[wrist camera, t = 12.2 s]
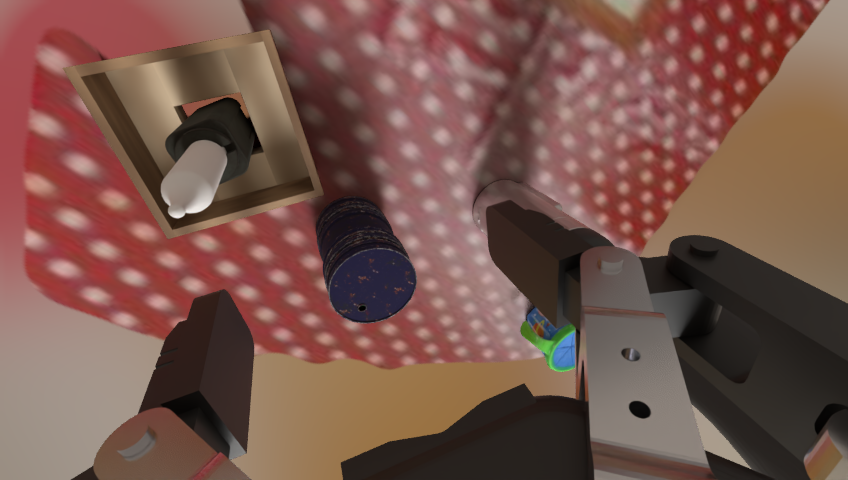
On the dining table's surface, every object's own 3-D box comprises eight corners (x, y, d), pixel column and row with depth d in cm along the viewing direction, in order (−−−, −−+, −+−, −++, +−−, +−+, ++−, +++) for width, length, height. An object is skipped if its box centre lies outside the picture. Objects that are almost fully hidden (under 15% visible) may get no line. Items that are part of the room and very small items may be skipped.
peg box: (270, 30, 39) (269, 29, 33) (317, 172, 48) (324, 194, 41) (102, 62, 36) (62, 68, 29) (184, 208, 44) (167, 239, 38)
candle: (188, 112, 40) (94, 194, 19) (234, 93, 41) (189, 154, 20) (217, 155, 43) (162, 267, 22) (259, 137, 44) (244, 230, 23)
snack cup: (581, 299, 77) (618, 332, 69) (555, 339, 80) (587, 374, 72) (525, 286, 70) (559, 321, 61) (499, 330, 73) (528, 369, 65)
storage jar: (334, 183, 49) (354, 233, 37) (397, 211, 54) (433, 263, 41) (303, 246, 52) (311, 313, 39) (366, 267, 56) (391, 332, 44)
